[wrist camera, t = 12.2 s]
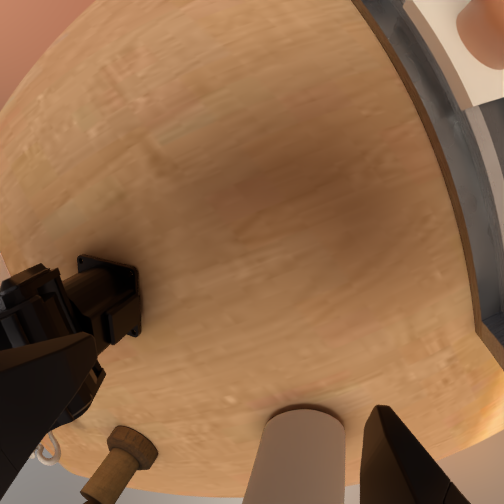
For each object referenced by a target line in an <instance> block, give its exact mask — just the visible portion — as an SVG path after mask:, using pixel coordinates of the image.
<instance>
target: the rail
mask: <svg viewBox="0 0 504 504" xmlns="http://www.w3.org/2000/svg"><path fill="white" fill-rule="evenodd" d="M351 1H352V2H353V3H354V5H355V6H356V7H357V9H358V10H359V11H360V13H361V14H362V16H363V17H364V19H365V20H366V21H367V23H368V24H369V26H370V27H371V29H372V30H373V32H374V33H375V35H376V36H377V38H378V40H379V41H380V43H381V44H382V46H383V48H384V49H385V51H386V53H387V54H388V56H389V58H390V59H391V61H392V63H393V65H394V66H395V68H396V70H397V72H398V74H399V75H400V77H401V79H402V81H403V83H404V85H405V87H406V89H407V91H408V93H409V95H410V97H411V99H412V101H413V103H414V105H415V107H416V109H417V111H418V113H419V116H420V118H421V120H422V122H423V125H424V127H425V129H426V132H427V134H428V136H429V139H430V141H431V144H432V146H433V149H434V152H435V154H436V157H437V160H438V162H439V165H440V168H441V171H442V174H443V177H444V180H445V183H446V186H447V189H448V192H449V195H450V199H451V202H452V205H453V209H454V212H455V216H456V220H457V224H458V228H459V232H460V236H461V240H462V245H463V249H464V254H465V259H466V264H467V270H468V275H469V281H470V288H471V295H472V302H473V310H474V320H475V331H476V333H477V335H478V336H479V337H480V339H481V340H482V341H483V343H484V344H485V345H486V347H487V348H488V349H489V351H490V352H491V354H492V355H493V356H494V358H495V359H496V361H497V362H498V363H499V365H500V366H501V368H502V369H503V371H504V97H503V98H500V99H497V100H493V101H490V102H487V103H484V104H480V105H477V106H474V107H471V108H468V109H465V110H462V111H461V110H460V107H459V105H458V103H457V101H456V99H455V96H454V94H453V92H452V90H451V88H450V86H449V84H448V82H447V80H446V78H445V76H444V74H443V72H442V70H441V68H440V66H439V65H438V63H437V61H436V59H435V57H434V56H433V54H432V52H431V50H430V49H429V47H428V45H427V44H426V42H425V40H424V39H423V37H422V35H421V34H420V32H419V31H418V29H417V28H416V26H415V25H414V23H413V22H412V20H411V19H410V17H409V16H408V14H407V13H406V11H405V10H404V9H403V5H404V3H405V1H406V0H351Z"/></svg>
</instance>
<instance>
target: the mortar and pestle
mask: <svg viewBox="0 0 504 504" xmlns="http://www.w3.org/2000/svg"><path fill="white" fill-rule="evenodd" d="M107 444H108V448H109V451H110V453H109V454H108V456H107V457H106V458H105V460H104V461H103V462H102V464H101V465H100V466H99V468H98V469H97V470H96V472H95V473H94V474H93V476H92V477H91V478H90V480H89V481H88V482H87V483H86V485H85V486H84V487H83V489H82V490H81V491H80V493H81V494H82V496H83V497H85V498H86V499H87V500H88V501H86V502H85V503H84V504H115V502H116V501H117V499H118V498H119V496H120V495H121V493H122V491H123V490H124V489H125V487H126V485H127V484H128V482H129V481H130V479H131V478H132V476H133V475H134V473H135V472H136V470H147V469H150V467H151V466H152V465H153V463H154V461H155V460H156V458H157V456H158V453H157V450H156V449H155V448H154V446H153V444H152V443H151V442H150V441H149V440H148V439H146V438H145V437H144V436H142V435H141V434H139V433H138V432H136V431H134V430H132V429H130V428H127V427H123V426H118V427H116V428H115V429H114V430H113V432H112V433H111V434H110V436H109V437H108V438H107Z"/></svg>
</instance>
